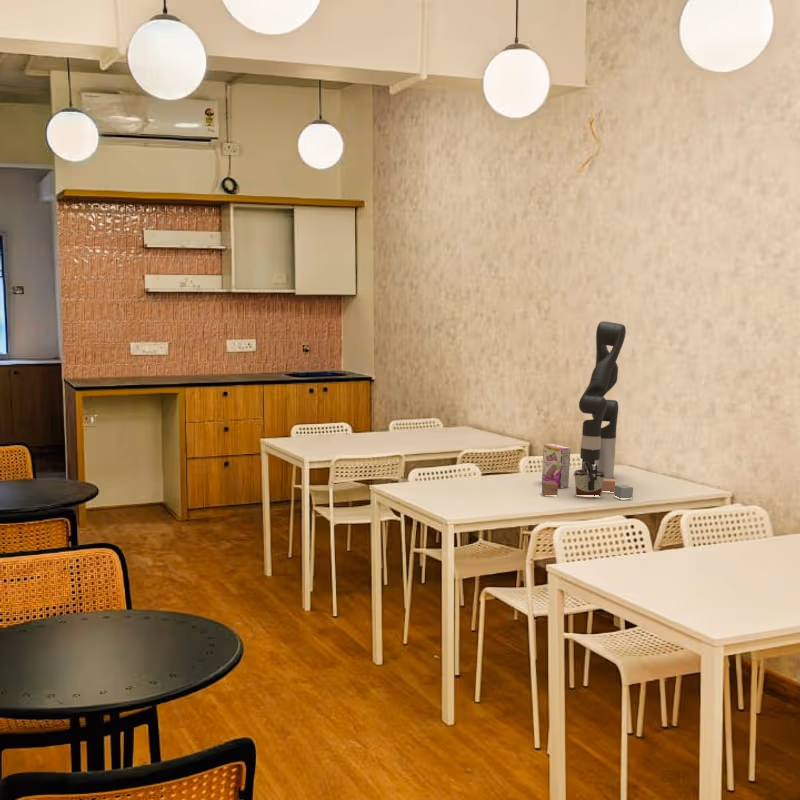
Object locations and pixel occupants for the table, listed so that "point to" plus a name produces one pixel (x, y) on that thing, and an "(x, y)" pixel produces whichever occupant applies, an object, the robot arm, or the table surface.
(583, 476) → the food container
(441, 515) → the table surface
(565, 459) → the candy bar box
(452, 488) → the table surface
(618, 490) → the slate grey block
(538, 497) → the table surface
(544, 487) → the walnut block
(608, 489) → the terracotta block
